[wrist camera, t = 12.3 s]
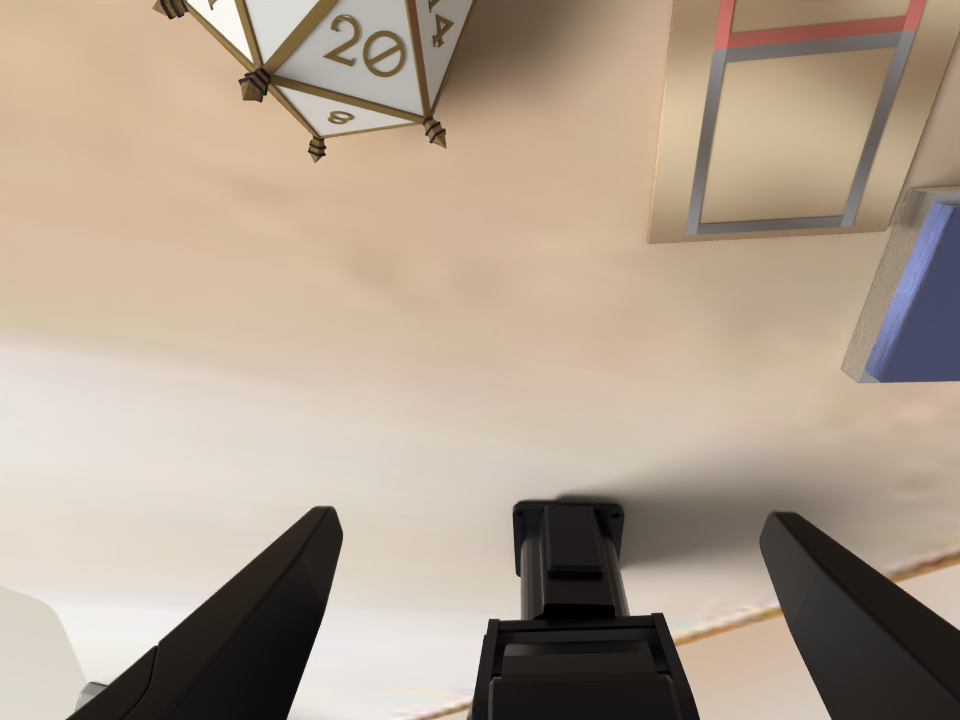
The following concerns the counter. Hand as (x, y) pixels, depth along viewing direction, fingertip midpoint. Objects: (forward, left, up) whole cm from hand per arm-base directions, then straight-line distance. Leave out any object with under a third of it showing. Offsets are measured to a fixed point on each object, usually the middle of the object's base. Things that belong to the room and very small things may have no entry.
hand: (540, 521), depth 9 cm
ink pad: (0, -18, -12) cm, 22 cm away
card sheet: (+9, -10, -12) cm, 18 cm away
